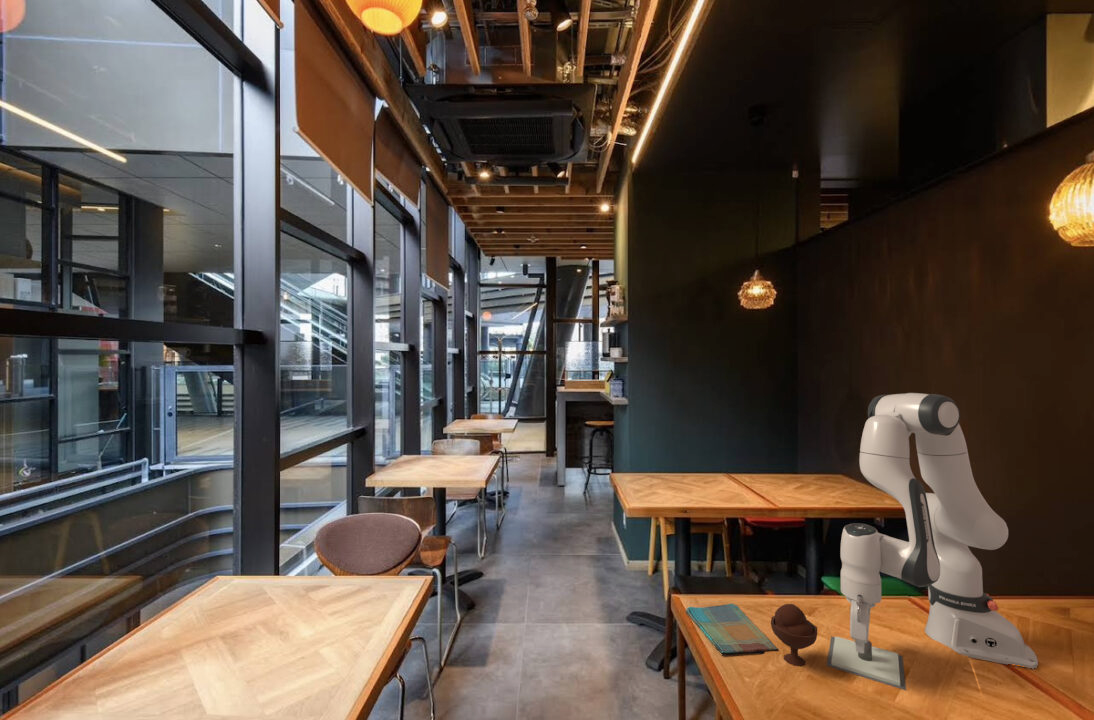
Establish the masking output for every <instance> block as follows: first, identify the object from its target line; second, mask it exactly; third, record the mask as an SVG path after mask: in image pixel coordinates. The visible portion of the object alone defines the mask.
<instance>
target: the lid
mask: <svg viewBox="0 0 1094 720" xmlns="http://www.w3.org/2000/svg"><path fill="white" fill-rule="evenodd" d="M834 637H835V641H834V647H833V654H832V661H831V665H833V666H836V667H839V668H843V669H846V670H849V671H852V672H856V673H859V674H862V675H865V676H869V677H872V678H875V679H879V680H882V681H885V682H888V683H892V684H895V685H898V686H900V674H899V661H898V655H899V653H898V652H896V651H895V652H894V651H891V650H887V649H883V648H879V647H877V646H872V641H870V640H868V642H867V643H865V644H864V653H859V652H857V651H856V644H855V640H851V639H846V638H843V637H840V636H836V635H835V636H834Z"/></svg>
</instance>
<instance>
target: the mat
mask: <svg viewBox="0 0 1094 720" xmlns="http://www.w3.org/2000/svg"><path fill="white" fill-rule="evenodd" d="M834 641H835V636H831V637H830V643H829V648H828V649H829V650H828V655H827V661H826V667H830V668H833V669H835V670H839V671H841V672H845V673H848V674H851V675H854V676H855V675H856V676H857V677H858V676H859V677H861V678H864V679H866V680H871V681H874V682H878V683H880V684H884V685H888V686H891V687H894V688H897V689H900V690H903V691H906V690H907V687H906V679H905V678H906V677H905V667H904V657H903V655H901V654H898V661H899V674H900V686H898V685H895V684H892V683H888V682H885V681H882V680H879V679H875V678H872V677H869V676H865V675H862V674H859V673H856V672H852V671H849V670H846V669H843V668H839V667H836V666H833V665H831V661H832V654H833V647H834Z"/></svg>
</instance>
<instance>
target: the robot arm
mask: <svg viewBox="0 0 1094 720" xmlns="http://www.w3.org/2000/svg"><path fill="white" fill-rule="evenodd" d="M867 417H868V419H866V421H865V423H864V426H863V427H864V428H863V430H862V436H861V439H860V446H859V447H860V448H859V451H860V452H859V461H858V462H859V470H860V472H861V474H862V475H863V477H864V478H865V480H867V481H868V482H869V483H870V484H872V486H874V487H876V488H877V489H879V490H881V491H883V492H885V493H887V494H888V495H889V496H891V497H893V498H894V499H895V500H896V501H898V502H899V504H900V505H901V506H902V508H903V510H904V513H905V519H906V526H907V534H908V541H906V540H902V539H898V538H895V537H892V536H889V535H887V534H883V533H880V532H878V530H877V529H876V527H874V526H872V525H869V524H868V523H867V524H866V523H860V522H859V523H858V522H856V523H855V522H854V523H849V524H847V525H844V527H843V529H842V533H841V540H840V551H839V552H840V553H839V554H840V555H839V556H840V560H841V569H840V592H841V594H842V595H844V596H845V599H846V600H847V602H849V603H850V608H849V609H850V613H849V634H850V638H851V639H852V640H854V641H855V644H856V651H857V652H859V653H864V644H865V643H867V642H868V641H869V635H870V634H869V632H870V620H871V609H872V608H874V607H876V604H879V603H881V602H882V578H881V576H880V572H881V573H883V574H886V575H889V576H891V577H894V578H897V579H899V580H902V581H904V582H906V583H908V584H910V585H912V586H915V587H917V588H922V587H923V588H924V587H927V589H928V590H927V591H928V593H927V594H928V601H929V603H930V604H929V612H928V618H927V622H926V625H925V627H924V632H925V634H926V635H927V637H929V638H930V639H932V640H933V641H936V642H938V643H940V644H942V645H944V646H946V647H948V648H950V649H951V650H953V651H954V652H956V653H958V654H959V655H962V656H965V657H968V658H971V659H977V660H980V661H981V660H982V661H983V660H984V661H987V662H993V663H998V664H1003V665H1008V664H1015V665H1020V666H1024V667H1028V668H1027V669H1029V668H1032V669H1031V670H1035V669H1037V668H1038V667H1037V666H1039V660H1038V657H1037V655H1036V653H1035V652H1034V650H1033V649H1032V648H1031V647H1030V646H1029V645H1027V644H1026V643H1025V642H1024V639H1023V636H1022V634H1021V632H1020V631H1019V629H1018V627H1016V625H1014V623H1012V622H1011V621H1010V620H1008V619H1007V618H1006V617H1004V616H1003V615H1002V614H1001V613H999V612H997V611H998V610H999V608H1000V607H999V605H998V604H997V603H996V601H994V599H993V598H992V597H991V596H990V595H989V594H988V593H987V592H986V593H985V592H984V587H983V568H982V565H981V562H980V561H979V560H978V558H976V555H974V554H973V552H972V551H971V549H970V548H977V549H982V550H989V551H993V550H997V549H999V548H1001V547H1003V546H1004V545H1005V543H1006V542H1007V541H1008V538H1009V528H1008V526H1007V525H1008V524H1007V522H1006V521H1005V520H1004V519H1003V518H1002V517H1001V516H1000V515H999V514H998V513H996V512H995V510H993V509H992V508H991V506H990V505H989V504H988V502H987V501H986V499H985V498H984V496H983V495H982V493H981V491H980V489H979V488H978V486H977V483H976V481H975V479H974V475H973V471H972V467H971V462H970V457H969V452H968V446H967V442H966V438H965V435H964V433H963V432H964V431H963V430H962V427H961V425H960V421H961V412H960V408H959V405H957V404H956V402H955V401H954V399H952V398H950V397H949V396H945V395H943V394H937V393H930V394H929V393H919V392H907V393H896V394H895V393H894V394H893V393H892V394H891V393H886V394H885V393H884V394H881V395H880V394H879V395H877V396H875V397H874V398H872V399H871V400H870V403H869V404H868V408H867ZM912 434H914V435H915V436H914V437H915V446H916V447H915V448H916V452H917V458H918V459H917V460H918V465H919V472H920V475H921V478H922V480H923V481H924V483H926V485H928V486H929V488H930V489H931V490H932V491H933V493H932V492H926V491H925V487H924V485H923V483H922V482H921V481H920V480H918V479H917V478H916V477H915V476H914V473H913V471H912V469H911V465H910V464H911V463H910V453H911V452H910V439H909V438H910V436H911V435H912ZM969 547H970V548H969ZM1034 668H1035V669H1034Z"/></svg>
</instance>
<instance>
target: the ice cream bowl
mask: <svg viewBox="0 0 1094 720" xmlns="http://www.w3.org/2000/svg"><path fill="white" fill-rule="evenodd" d="M770 618H771V619H770V625H771V630H772V631H773V634H774V635H775V636H776V637H777V639H779V640H780V641H781V643H782V644H784V645H786V646H787V647H789V648H790V653H787V654H785V655H783V660H784V661H785V662H786V663H787V664H789V665H791V666H794V667H804V666H806V661H807V660H805V659H804V658H803V657H801V656H800V655H799V650H803V649H807V648H808V647H811V646H812V645H813V644H815V642H816V641H817V636H818V626H816V625H815V624H814V623H813V622H811V621H809V620H808V619H807V617H806V615H805V613H804V611H803V610H802V609H800V607H799V606H796V604H793V603H785V604H783V605H781V606H779V607H778V608H777V609H776V611H775V613H774V616H771V617H770Z"/></svg>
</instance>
